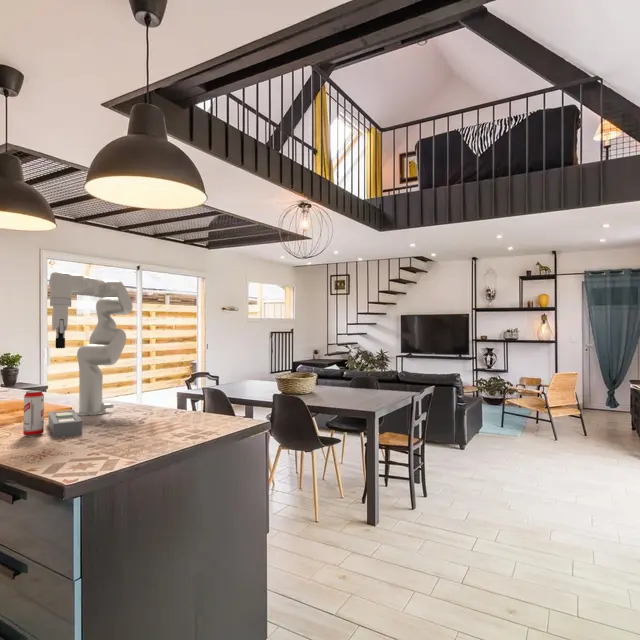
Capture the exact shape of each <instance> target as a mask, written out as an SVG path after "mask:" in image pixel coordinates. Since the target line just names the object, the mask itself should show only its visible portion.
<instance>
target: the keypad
mask: <svg viewBox="0 0 640 640" xmlns="http://www.w3.org/2000/svg"><path fill="white" fill-rule="evenodd" d="M62 412H70V413H72V414H73V417H66V418H57V415H55V413H62ZM71 418H74V420H73V421H64V422H58V420H61V419H71ZM48 427H49V429H50V432H52V433H51V434H52V437H53V438H55V439H56V437H57V438H64V437H63V436H66V437H73V435H74V436H81V434H82V435H83V420H82V419H81V417H80V416H79V415H77V414H76V411H75V409H70V410H69V409H68V410H60V411H59V410H58V411H57V410H56V411H49V412H48Z"/></svg>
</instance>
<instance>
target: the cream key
mask: <svg viewBox="0 0 640 640" xmlns="http://www.w3.org/2000/svg"><path fill="white" fill-rule="evenodd" d="M73 420H74V418H71V419H61V420H58V422H64V421H73Z"/></svg>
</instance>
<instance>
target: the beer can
mask: <svg viewBox="0 0 640 640" xmlns="http://www.w3.org/2000/svg"><path fill="white" fill-rule="evenodd" d="M44 414H45V395H44V393H43V390H37V389H35V390H34V389H33V390H26V391H25V394H24V395H23V425H22V426H23V432H22V433H23V436H25V437H27V436H33V437H38V435H39V436H41V435H42V434H43V433H44V427H45V426H44V425H45V423H44V422H45V421H44V417H45V415H44Z"/></svg>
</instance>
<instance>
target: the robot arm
mask: <svg viewBox="0 0 640 640" xmlns="http://www.w3.org/2000/svg"><path fill="white" fill-rule="evenodd" d="M48 285H49V307H52V312H51V313H52V314H51V315H52V317H51V330H52V331H55V349H65V348H66V338H65V334H66V331H67V330H68V324H69V323H68V322H69V321H68V320H69V308H70V307H72V295H77V296H84V297H85V296H87V297H92V298H93V297H94V298H99V299H98V300H97V301H96V305H95V310H96V316H97V323H96V326H95V327H94V329H93V331H92V332H91V334H90V336H89V344H84V345H82V346H80V347H79V348H78V349H77V352H76V359H77V362H78V371H79V378H78V381H79V382H78V383H79V385H78V386H79V387H78V389H79V392H78V397H79V398H78V410H76V411H75V412H76V414H77V415H78V416H79V417H83V416H84V417H86V416H88V415H90V416H96V414H99V415H102V414H101V413H103V414H105V413H106V412H107V410H106V409H112V408H114V403H104V402H103V381H104V380H103V377H104V375H103V371H102V370H101V369H100V367H99V366H112V365H115V364H116V363H117V362H118V361H119V358H120V356H121V354H122V352H123V351H124V348H125V346H126V343H127V334H126V332H125V330H124V329H122V328H117V323H116V321H115V319H114V318H112V316H111V315H113V316H115V315H116V316H117V315H118V316H119V315H120V316H121V315H122V316H123V315H129V314H131V312H132V311H133V302H132V299H131V296H130V295H129V292H128V290H127V288H126V286H125V285H124V283H123V282H122V281H121V280H115V279H114V280H113V279H109V280H107V279H99V278H95V277H91V276H90V277H89V276H84V275H82V274H78V273H68V272H63V271H54V272H51V274H50V277H49V280H48Z"/></svg>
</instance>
